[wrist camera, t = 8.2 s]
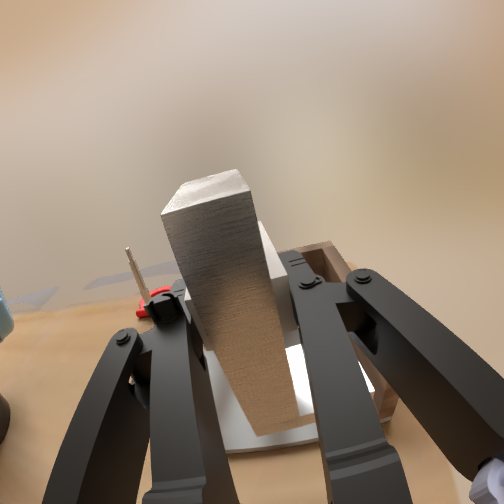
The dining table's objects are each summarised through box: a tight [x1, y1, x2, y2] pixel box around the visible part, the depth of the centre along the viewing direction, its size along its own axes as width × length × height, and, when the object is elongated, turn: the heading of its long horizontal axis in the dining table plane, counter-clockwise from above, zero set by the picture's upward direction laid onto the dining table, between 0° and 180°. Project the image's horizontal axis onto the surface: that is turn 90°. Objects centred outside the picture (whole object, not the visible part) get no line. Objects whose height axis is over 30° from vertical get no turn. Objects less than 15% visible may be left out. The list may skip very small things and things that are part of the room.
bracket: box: [160, 169, 375, 437], centre depth 12 cm, size 6×5×12 cm
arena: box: [204, 241, 399, 454], centre depth 28 cm, size 19×22×9 cm
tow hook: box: [125, 248, 171, 317], centre depth 46 cm, size 8×13×9 cm
